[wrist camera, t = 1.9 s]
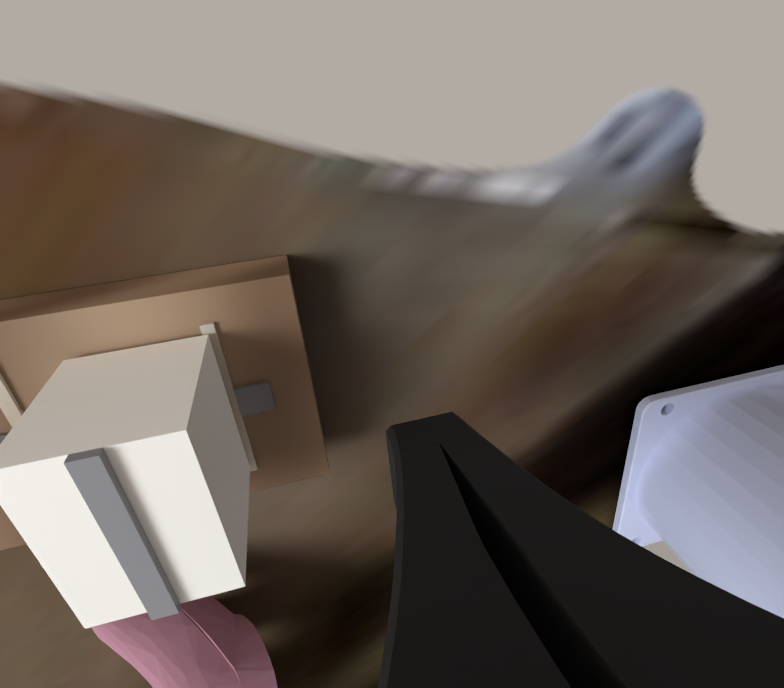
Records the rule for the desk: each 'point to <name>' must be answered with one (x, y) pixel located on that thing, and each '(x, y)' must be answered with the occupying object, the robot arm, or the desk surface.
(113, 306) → the fader board
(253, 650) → the video game controller
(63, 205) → the desk surface
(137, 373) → the fader tab
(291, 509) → the desk surface
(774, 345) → the desk surface
